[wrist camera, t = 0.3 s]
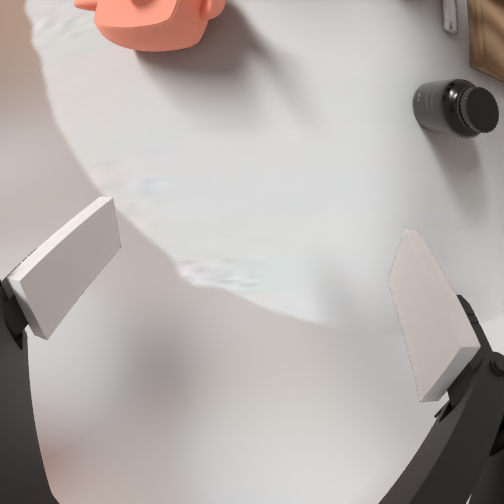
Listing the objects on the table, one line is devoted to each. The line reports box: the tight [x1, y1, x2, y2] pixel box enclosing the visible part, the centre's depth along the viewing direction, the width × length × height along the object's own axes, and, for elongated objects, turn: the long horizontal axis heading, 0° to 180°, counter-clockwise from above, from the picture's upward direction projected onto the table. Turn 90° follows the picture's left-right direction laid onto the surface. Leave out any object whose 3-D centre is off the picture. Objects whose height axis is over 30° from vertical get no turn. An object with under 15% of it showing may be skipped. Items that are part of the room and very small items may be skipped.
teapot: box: [74, 0, 226, 52], centre depth 24 cm, size 20×12×12 cm, turn 78°
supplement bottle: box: [413, 79, 499, 138], centre depth 26 cm, size 7×7×12 cm
